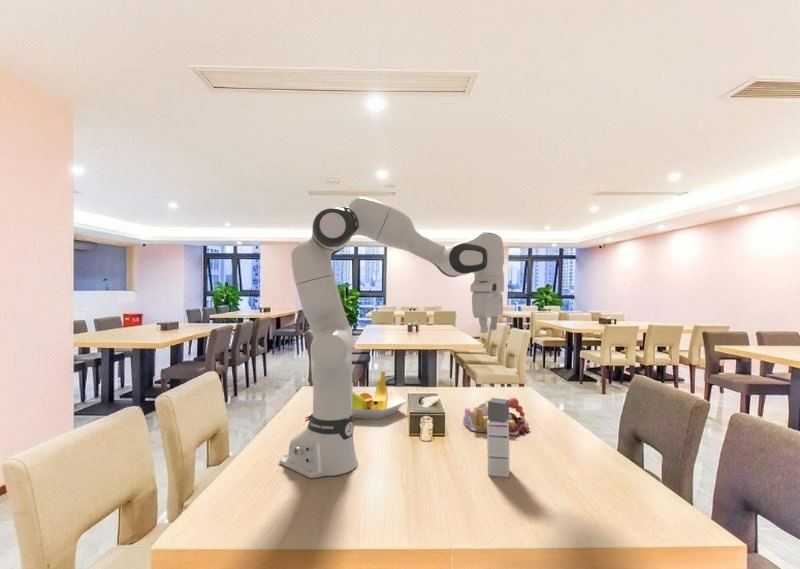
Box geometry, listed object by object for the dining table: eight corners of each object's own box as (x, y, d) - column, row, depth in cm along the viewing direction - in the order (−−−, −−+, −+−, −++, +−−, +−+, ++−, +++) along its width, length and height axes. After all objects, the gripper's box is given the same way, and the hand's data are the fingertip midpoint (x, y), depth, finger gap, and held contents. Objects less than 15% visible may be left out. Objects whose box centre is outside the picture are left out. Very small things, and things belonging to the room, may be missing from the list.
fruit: (328, 406, 173) (329, 372, 173) (385, 399, 184) (385, 367, 184) (350, 428, 146) (351, 388, 146) (415, 418, 157) (415, 381, 157)
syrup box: (509, 477, 108) (510, 423, 108) (487, 475, 109) (487, 421, 109) (508, 468, 113) (508, 416, 114) (486, 466, 115) (487, 415, 115)
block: (487, 419, 110) (488, 401, 110) (492, 415, 114) (492, 397, 114) (504, 422, 108) (504, 403, 108) (508, 418, 112) (508, 399, 112)
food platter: (533, 440, 136) (534, 412, 136) (462, 435, 140) (462, 408, 140) (524, 417, 161) (524, 393, 161) (464, 413, 165) (464, 390, 165)
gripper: (488, 286, 135) (488, 328, 135) (468, 285, 117) (468, 333, 117) (508, 286, 132) (507, 329, 132) (489, 285, 114) (489, 335, 114)
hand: (489, 331), depth 124 cm, fingers open, 8 cm apart
